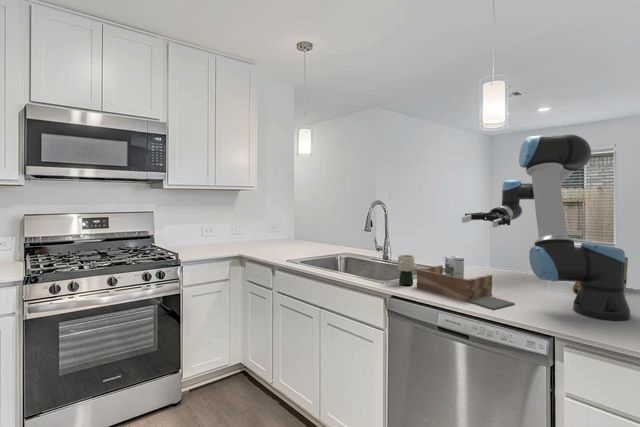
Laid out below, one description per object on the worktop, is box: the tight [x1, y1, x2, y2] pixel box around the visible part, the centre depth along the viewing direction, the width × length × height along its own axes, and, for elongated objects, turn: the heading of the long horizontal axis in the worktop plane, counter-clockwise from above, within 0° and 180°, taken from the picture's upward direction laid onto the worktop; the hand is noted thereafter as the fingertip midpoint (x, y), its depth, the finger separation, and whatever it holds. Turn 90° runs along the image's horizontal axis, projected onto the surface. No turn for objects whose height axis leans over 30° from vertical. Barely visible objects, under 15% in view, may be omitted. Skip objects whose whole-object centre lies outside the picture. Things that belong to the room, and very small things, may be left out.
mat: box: [465, 295, 515, 311], centre depth 132 cm, size 12×12×1 cm
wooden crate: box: [416, 265, 493, 302], centre depth 148 cm, size 16×25×8 cm, turn 34°
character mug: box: [397, 254, 415, 286], centre depth 160 cm, size 11×7×13 cm, turn 140°
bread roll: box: [572, 282, 580, 295], centre depth 143 cm, size 10×10×8 cm
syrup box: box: [444, 255, 465, 279], centre depth 149 cm, size 6×6×14 cm
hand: (477, 221), depth 153 cm, fingers open, 13 cm apart
